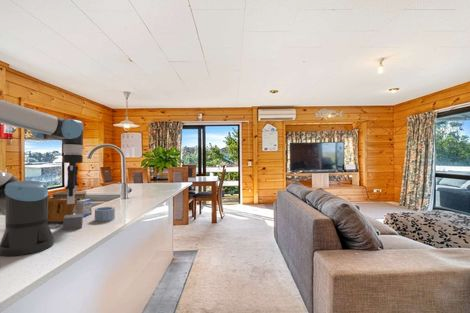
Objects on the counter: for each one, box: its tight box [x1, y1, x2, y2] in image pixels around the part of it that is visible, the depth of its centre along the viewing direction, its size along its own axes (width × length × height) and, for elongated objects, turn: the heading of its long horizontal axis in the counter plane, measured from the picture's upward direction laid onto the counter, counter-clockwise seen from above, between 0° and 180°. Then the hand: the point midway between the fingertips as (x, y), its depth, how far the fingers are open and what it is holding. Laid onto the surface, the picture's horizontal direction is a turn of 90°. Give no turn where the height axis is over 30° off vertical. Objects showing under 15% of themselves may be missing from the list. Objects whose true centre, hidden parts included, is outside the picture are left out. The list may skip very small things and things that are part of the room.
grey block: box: [62, 213, 84, 231], centre depth 118 cm, size 7×7×5 cm
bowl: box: [94, 206, 116, 222], centre depth 132 cm, size 9×9×6 cm
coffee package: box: [48, 196, 78, 223], centre depth 127 cm, size 10×12×22 cm
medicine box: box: [74, 198, 93, 218], centre depth 140 cm, size 8×4×9 cm, turn 179°
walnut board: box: [52, 190, 87, 200], centre depth 117 cm, size 12×12×2 cm
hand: (72, 201), depth 118 cm, fingers closed on walnut board, 12 cm apart
